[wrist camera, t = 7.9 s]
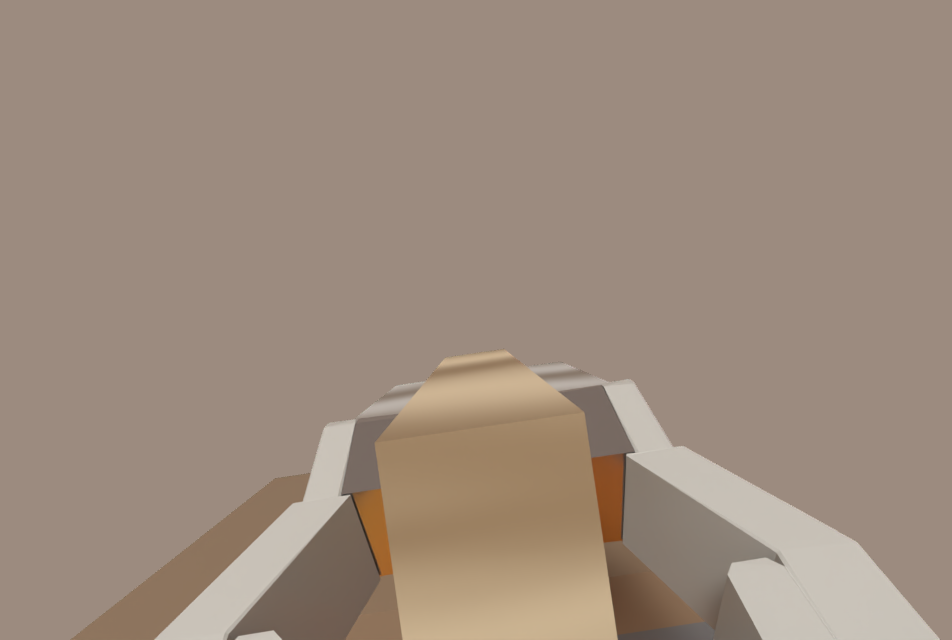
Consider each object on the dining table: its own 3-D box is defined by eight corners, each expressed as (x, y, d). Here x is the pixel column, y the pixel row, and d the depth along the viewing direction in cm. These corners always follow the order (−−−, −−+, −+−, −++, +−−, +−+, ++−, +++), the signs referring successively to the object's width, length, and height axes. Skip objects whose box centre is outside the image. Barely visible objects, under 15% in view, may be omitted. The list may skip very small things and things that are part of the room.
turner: (987, 620, 5) (948, 357, 5) (38, 763, 5) (3, 497, 5) (562, 376, 27) (556, 330, 27) (398, 400, 27) (391, 354, 27)
